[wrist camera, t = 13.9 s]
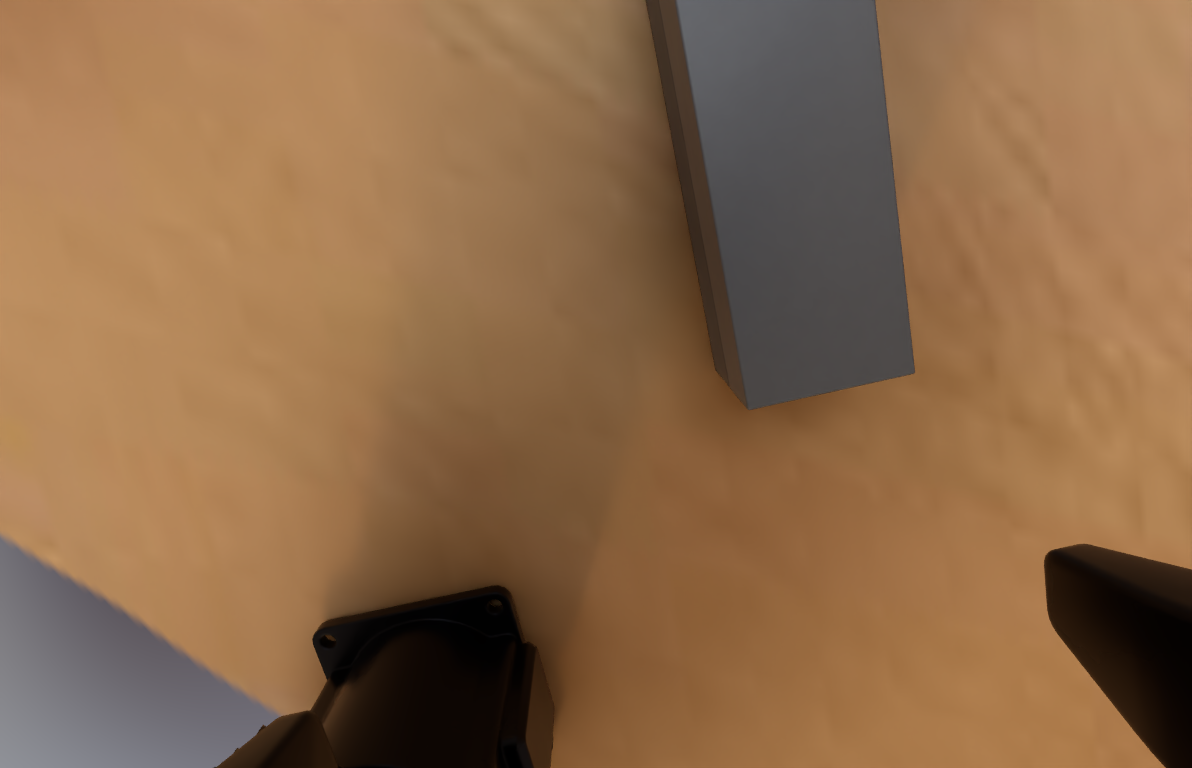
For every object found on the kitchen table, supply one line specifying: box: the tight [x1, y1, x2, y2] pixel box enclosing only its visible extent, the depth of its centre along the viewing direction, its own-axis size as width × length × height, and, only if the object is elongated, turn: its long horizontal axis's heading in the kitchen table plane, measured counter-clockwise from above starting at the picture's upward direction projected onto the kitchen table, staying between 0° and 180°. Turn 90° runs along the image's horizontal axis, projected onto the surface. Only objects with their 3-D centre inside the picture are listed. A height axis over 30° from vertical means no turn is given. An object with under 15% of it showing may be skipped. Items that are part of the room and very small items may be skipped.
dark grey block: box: [646, 0, 915, 410], centre depth 16 cm, size 4×11×4 cm, turn 13°
